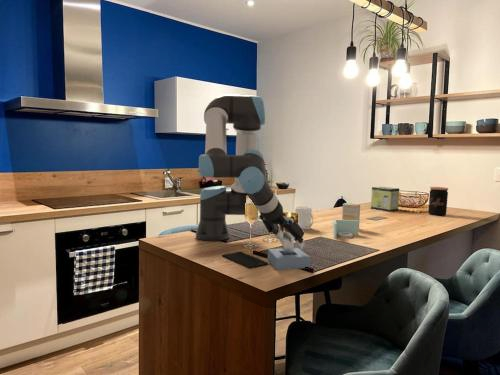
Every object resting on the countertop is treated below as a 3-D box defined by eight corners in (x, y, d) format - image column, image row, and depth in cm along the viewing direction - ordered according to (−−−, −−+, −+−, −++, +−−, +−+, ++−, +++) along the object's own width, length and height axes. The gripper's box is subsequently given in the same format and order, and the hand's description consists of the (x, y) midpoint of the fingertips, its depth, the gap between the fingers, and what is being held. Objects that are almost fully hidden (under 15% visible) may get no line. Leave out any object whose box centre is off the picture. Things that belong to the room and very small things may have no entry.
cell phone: (240, 253, 152) (240, 251, 152) (269, 265, 138) (269, 263, 138) (221, 257, 147) (221, 254, 147) (249, 270, 133) (249, 267, 133)
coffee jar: (425, 214, 253) (427, 187, 251) (432, 212, 260) (434, 186, 258) (442, 216, 245) (444, 189, 243) (448, 215, 252) (450, 188, 250)
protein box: (378, 207, 277) (380, 186, 276) (398, 210, 265) (400, 188, 264) (370, 208, 271) (371, 186, 269) (390, 212, 259) (391, 189, 257)
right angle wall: (334, 239, 180) (335, 224, 179) (332, 234, 191) (333, 219, 191) (360, 241, 178) (361, 225, 177) (357, 235, 190) (358, 220, 189)
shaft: (284, 265, 137) (285, 230, 136) (280, 262, 141) (281, 228, 140) (294, 265, 138) (296, 230, 137) (291, 261, 142) (292, 227, 141)
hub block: (276, 269, 132) (277, 258, 132) (267, 259, 144) (267, 249, 144) (309, 267, 135) (309, 256, 135) (297, 258, 147) (298, 247, 146)
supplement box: (359, 228, 203) (360, 204, 202) (356, 230, 199) (357, 205, 198) (344, 226, 208) (345, 202, 207) (341, 227, 204) (342, 203, 203)
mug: (306, 231, 193) (306, 210, 192) (291, 227, 203) (291, 207, 202) (318, 230, 197) (319, 209, 196) (303, 225, 207) (304, 206, 206)
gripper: (240, 210, 132) (267, 247, 146) (288, 218, 119) (313, 258, 133) (250, 193, 135) (276, 231, 150) (298, 200, 123) (321, 240, 137)
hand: (293, 244), depth 142 cm, fingers open, 7 cm apart
